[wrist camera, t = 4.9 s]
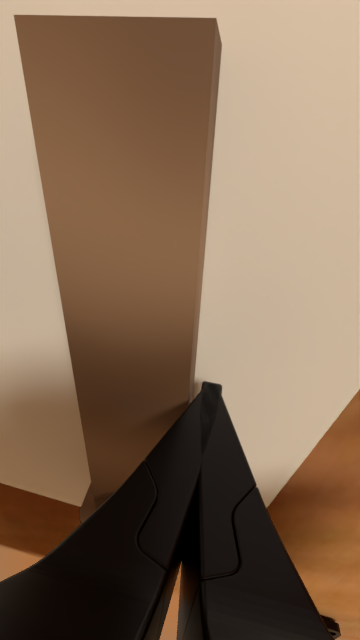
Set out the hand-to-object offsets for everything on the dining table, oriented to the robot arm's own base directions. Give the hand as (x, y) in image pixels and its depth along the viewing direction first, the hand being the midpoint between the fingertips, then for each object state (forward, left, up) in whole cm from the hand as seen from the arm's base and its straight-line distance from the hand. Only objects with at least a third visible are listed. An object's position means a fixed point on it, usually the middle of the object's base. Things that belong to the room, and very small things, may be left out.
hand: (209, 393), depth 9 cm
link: (-1, +2, -1) cm, 2 cm away
